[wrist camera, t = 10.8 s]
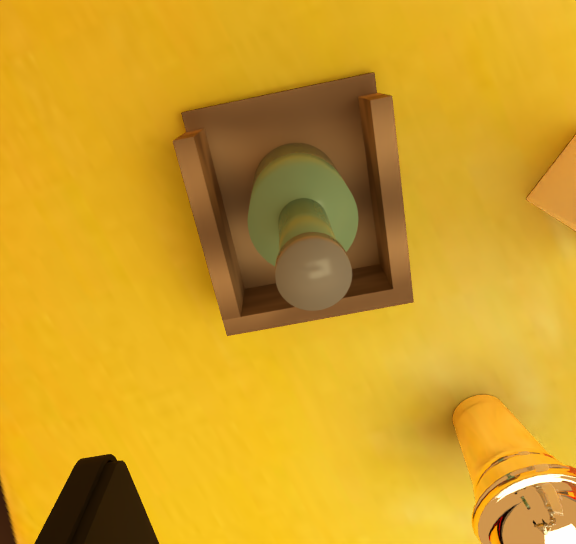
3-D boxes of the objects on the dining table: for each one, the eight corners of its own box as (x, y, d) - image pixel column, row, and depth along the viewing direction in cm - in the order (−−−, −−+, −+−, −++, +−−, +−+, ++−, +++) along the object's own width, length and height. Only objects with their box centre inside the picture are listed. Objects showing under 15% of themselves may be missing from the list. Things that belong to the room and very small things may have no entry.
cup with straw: (471, 358, 39) (645, 614, 21) (554, 403, 41) (781, 675, 22) (409, 430, 42) (513, 715, 23) (489, 470, 44) (645, 761, 25)
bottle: (243, 153, 32) (222, 222, 18) (331, 134, 31) (377, 189, 17) (263, 235, 34) (258, 352, 20) (345, 218, 34) (396, 325, 20)
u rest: (183, 111, 31) (166, 119, 27) (372, 72, 31) (389, 72, 26) (233, 301, 37) (227, 336, 32) (395, 271, 36) (413, 302, 31)
